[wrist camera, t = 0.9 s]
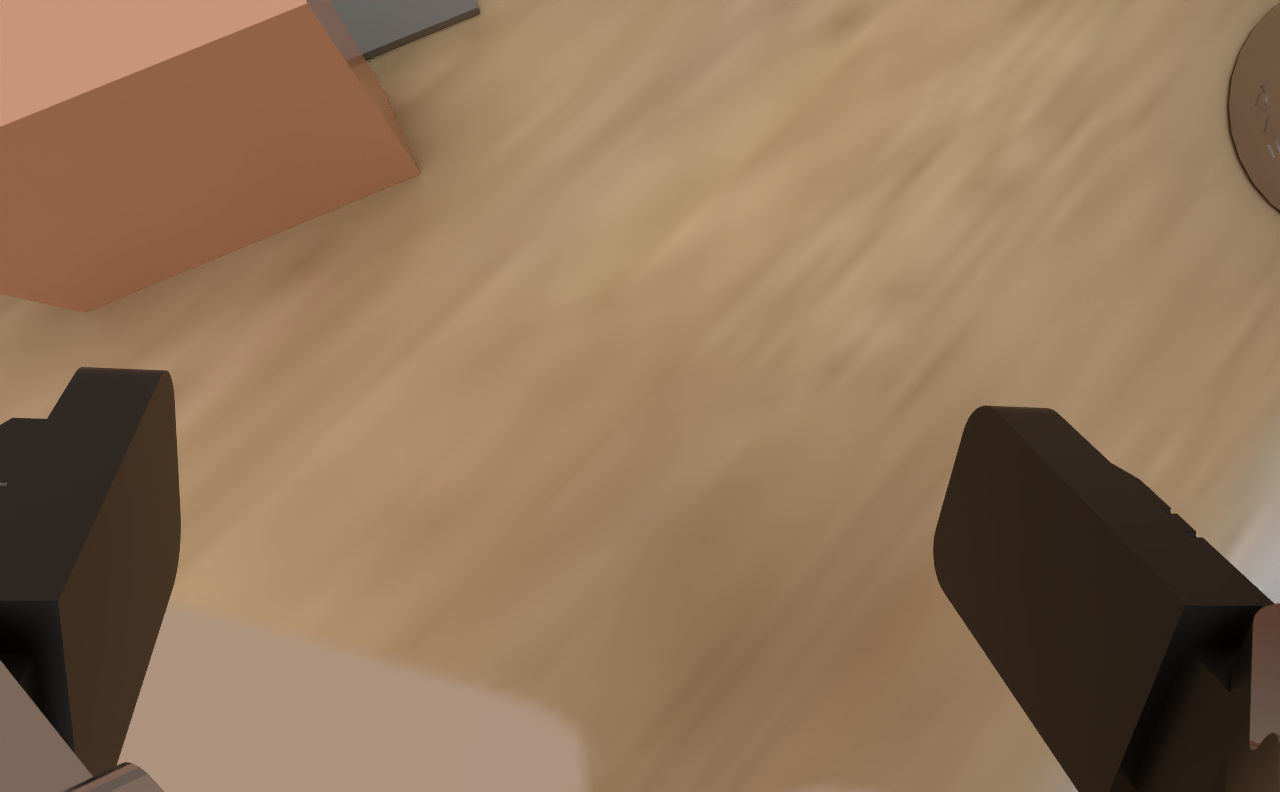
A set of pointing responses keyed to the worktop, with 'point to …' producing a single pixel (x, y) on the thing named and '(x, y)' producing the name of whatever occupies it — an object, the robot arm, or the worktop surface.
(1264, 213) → the worktop surface
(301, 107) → the tile
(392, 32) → the mat
